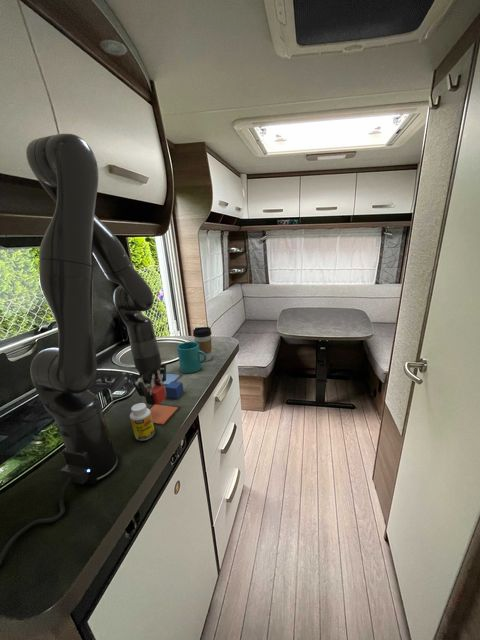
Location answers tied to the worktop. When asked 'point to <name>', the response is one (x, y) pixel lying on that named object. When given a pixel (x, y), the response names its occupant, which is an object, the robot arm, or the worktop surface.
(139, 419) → the supplement bottle
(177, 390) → the blue block
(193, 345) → the cup
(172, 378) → the blue coaster
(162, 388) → the red block
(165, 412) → the orange coaster
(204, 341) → the coffee cup
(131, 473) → the worktop surface
